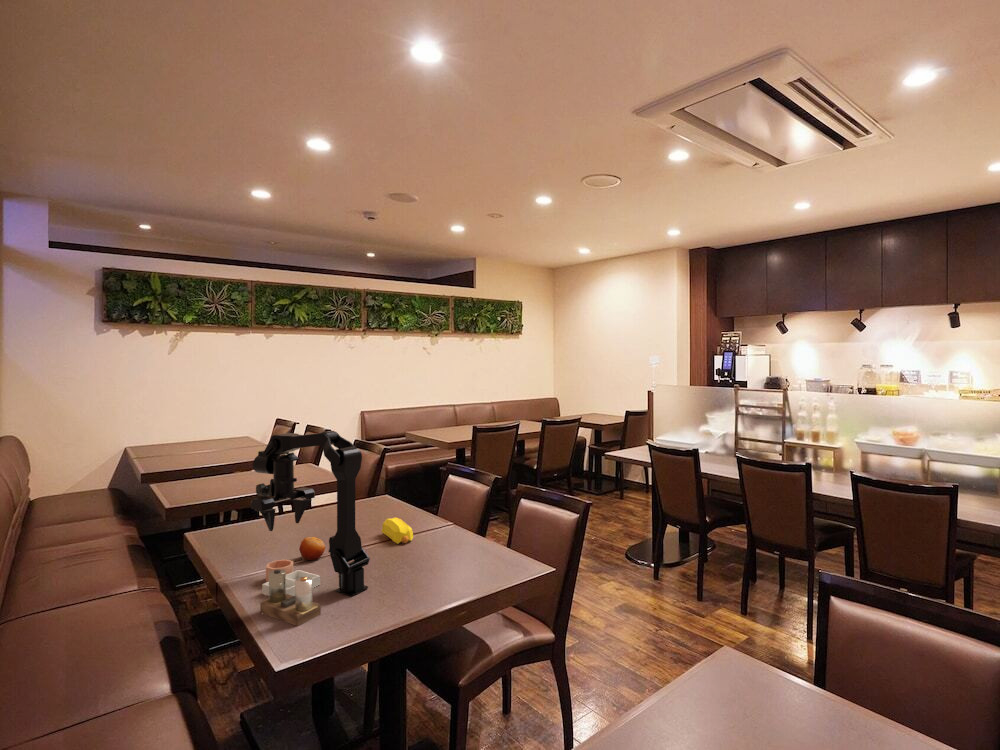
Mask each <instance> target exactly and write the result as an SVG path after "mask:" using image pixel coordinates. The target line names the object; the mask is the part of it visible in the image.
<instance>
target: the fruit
mask: <svg viewBox="0 0 1000 750" xmlns="http://www.w3.org/2000/svg"><path fill="white" fill-rule="evenodd" d="M325 550H326V546H325V543H324V542H323V540H321V539H320V538H318V537H315V536H310V537H309V536H306V537H304V539H303V540H302V541H301V542H300V546H299V552H300V556H301V561H302V562H303V561H305V560H309V561H317V559H318V560H319V559H320V558H321V557H322V556H323V554H324V552H325Z"/></svg>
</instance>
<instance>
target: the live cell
mask: <svg viewBox="0 0 1000 750" xmlns="http://www.w3.org/2000/svg"><path fill="white" fill-rule="evenodd" d="M312 602H313V589H312V578H311V577H301V578H298V579H296V580H295V610H296V611H298V612H304V611H308V610H310V609H312Z"/></svg>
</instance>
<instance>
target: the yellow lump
mask: <svg viewBox="0 0 1000 750" xmlns="http://www.w3.org/2000/svg"><path fill="white" fill-rule="evenodd" d="M381 533H382V534H384V535H385V536H387V537H388V538H390V539H391V540H392V542H394V543H395V544H396V545H399V544H400V543H403V544H407V543H408V542H411V541H412V540H413V538H414V533H413V528H412V527H411V526H410V525H409V524H407V523H406V522H405V521H404V520H402V519H401V518H398V517H393V518H386V519H385V521H384V522H382V527H381Z"/></svg>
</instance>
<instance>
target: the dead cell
mask: <svg viewBox="0 0 1000 750" xmlns="http://www.w3.org/2000/svg"><path fill="white" fill-rule="evenodd" d="M268 599H269V602H271V603H278V602H282V601H284V600H285V599H286V571H285V570H280V569H277V570H274V571H271V572H269V596H268Z"/></svg>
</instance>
